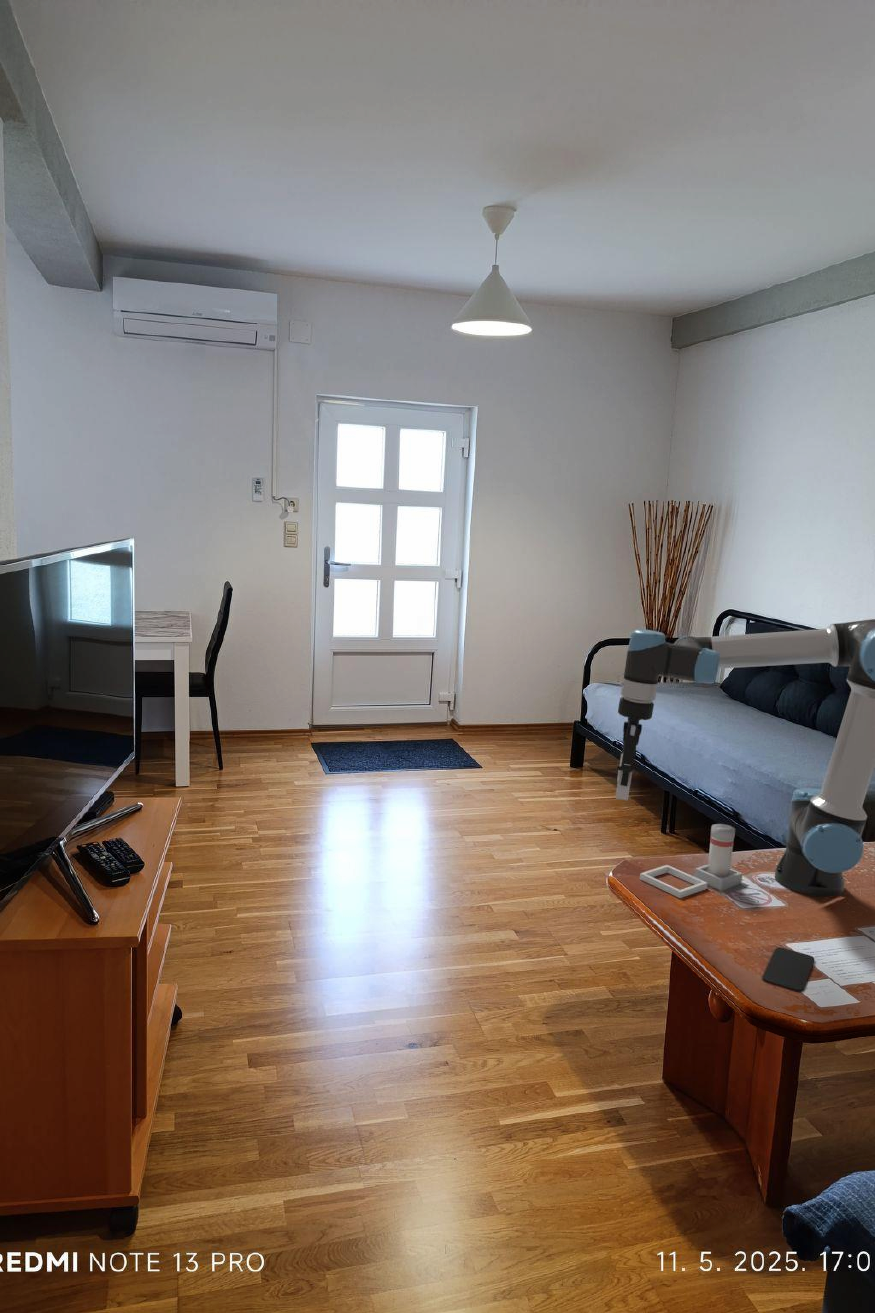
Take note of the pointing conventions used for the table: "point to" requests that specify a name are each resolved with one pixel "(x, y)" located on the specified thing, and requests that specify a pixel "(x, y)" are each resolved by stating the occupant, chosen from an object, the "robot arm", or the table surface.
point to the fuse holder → (720, 880)
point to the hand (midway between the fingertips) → (622, 790)
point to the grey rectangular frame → (697, 886)
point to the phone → (788, 969)
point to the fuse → (720, 850)
